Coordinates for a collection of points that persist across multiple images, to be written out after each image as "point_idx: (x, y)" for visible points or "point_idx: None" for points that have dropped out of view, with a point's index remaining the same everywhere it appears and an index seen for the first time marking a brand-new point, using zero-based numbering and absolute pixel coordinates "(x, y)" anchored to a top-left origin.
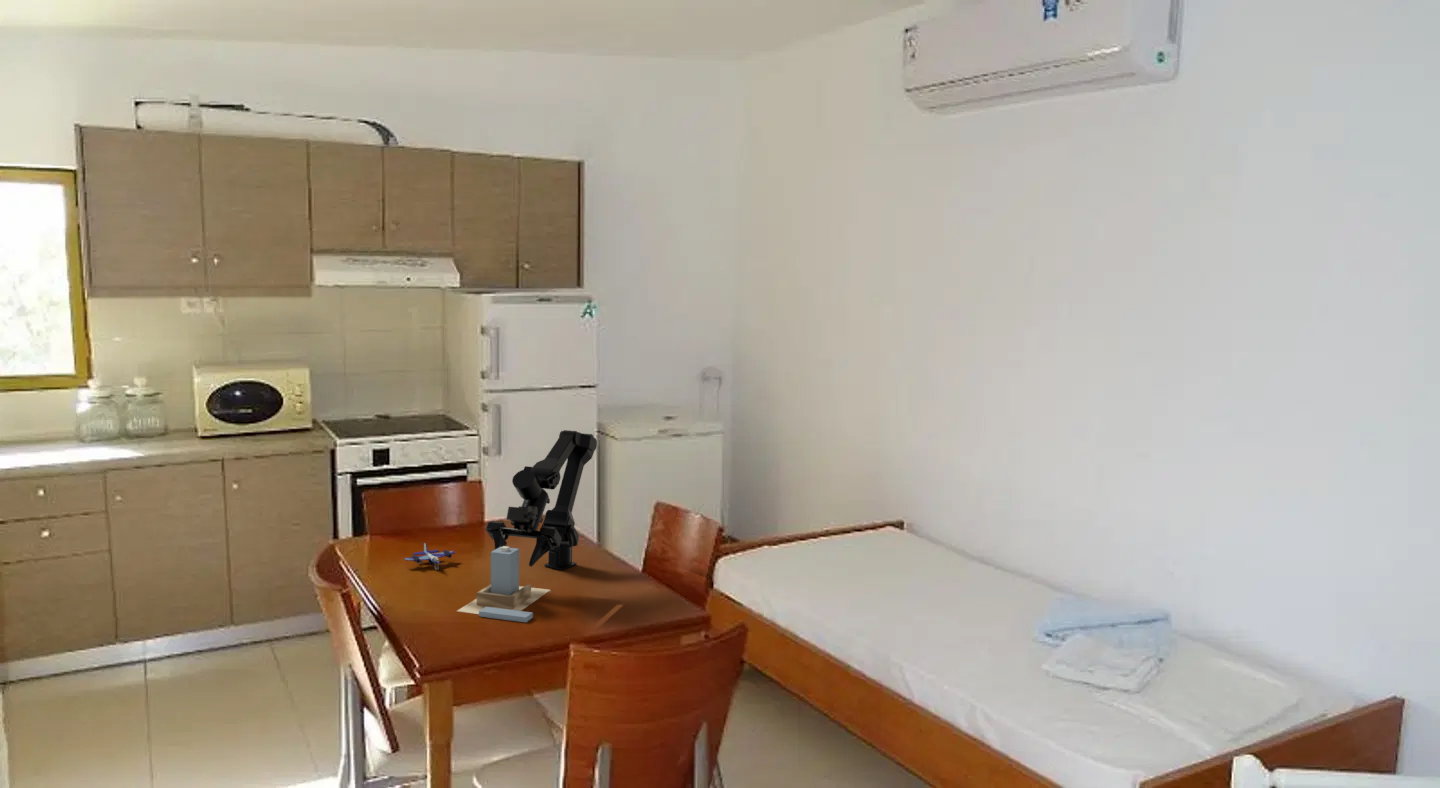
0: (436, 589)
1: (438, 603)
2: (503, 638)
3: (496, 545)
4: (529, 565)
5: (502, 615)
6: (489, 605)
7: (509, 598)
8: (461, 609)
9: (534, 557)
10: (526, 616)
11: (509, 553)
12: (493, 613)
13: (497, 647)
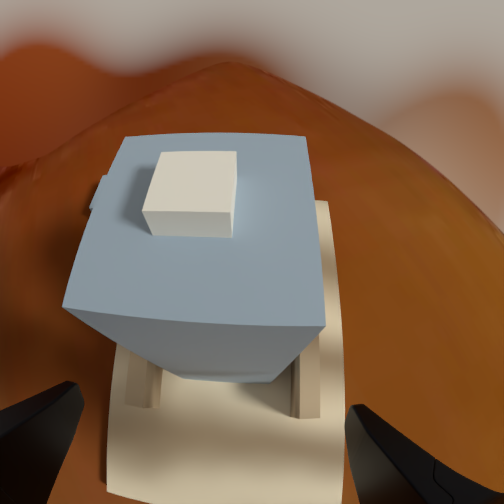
0: (492, 371)
1: (424, 270)
2: (147, 130)
3: (436, 474)
4: (78, 387)
5: None
6: None
7: None
8: (323, 215)
9: (25, 403)
10: (102, 180)
11: (130, 147)
12: None
13: (150, 106)
